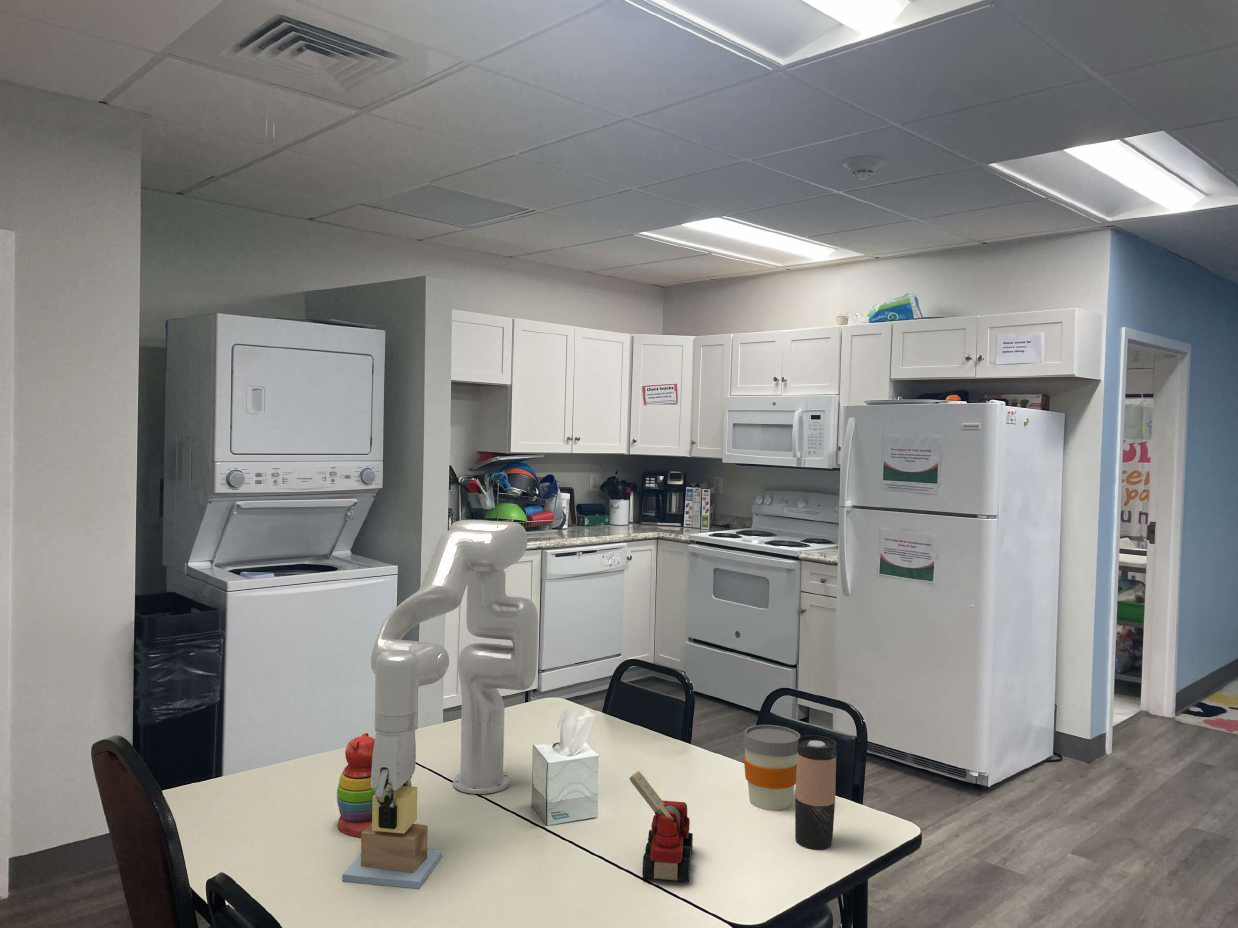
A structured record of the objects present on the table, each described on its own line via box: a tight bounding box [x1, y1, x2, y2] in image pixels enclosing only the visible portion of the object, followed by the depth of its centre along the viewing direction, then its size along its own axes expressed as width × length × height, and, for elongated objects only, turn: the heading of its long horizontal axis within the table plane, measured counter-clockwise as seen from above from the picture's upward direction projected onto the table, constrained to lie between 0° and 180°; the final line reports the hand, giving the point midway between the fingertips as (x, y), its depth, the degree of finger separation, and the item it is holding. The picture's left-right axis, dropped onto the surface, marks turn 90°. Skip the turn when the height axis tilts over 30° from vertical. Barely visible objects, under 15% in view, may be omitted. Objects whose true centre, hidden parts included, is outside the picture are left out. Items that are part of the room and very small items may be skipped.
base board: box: [341, 848, 444, 890], centre depth 163 cm, size 12×14×1 cm
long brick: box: [360, 823, 429, 873], centre depth 163 cm, size 6×10×6 cm, turn 78°
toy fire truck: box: [629, 771, 694, 882], centre depth 167 cm, size 11×16×18 cm
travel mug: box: [794, 734, 837, 851], centre depth 178 cm, size 8×8×20 cm
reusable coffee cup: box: [742, 724, 801, 811], centre depth 197 cm, size 13×13×15 cm
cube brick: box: [372, 784, 418, 834], centre depth 163 cm, size 6×6×6 cm
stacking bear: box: [336, 732, 376, 838], centre depth 180 cm, size 11×10×18 cm
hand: (394, 819), depth 163 cm, fingers closed on cube brick, 5 cm apart
